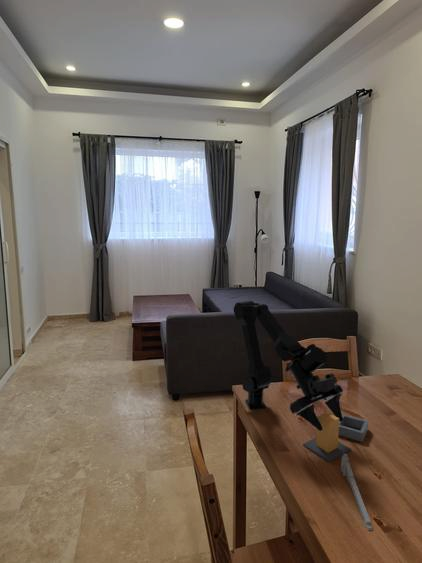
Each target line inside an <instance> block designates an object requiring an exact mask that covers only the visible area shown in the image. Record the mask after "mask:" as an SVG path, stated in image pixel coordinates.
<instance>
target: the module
mask: <svg viewBox="0 0 422 563" xmlns="http://www.w3.org/2000/svg"><path fill="white" fill-rule="evenodd" d="M316 416H317V415H316ZM317 418H318V420H319V422H320V424H321V426H322V429H323V430H321V431H319V430H318V429H317V428H316V437H315V438H316V446H318V447H320V448H321V449H323V450H324V451H326V452H330V451H332V450H334V449H336V448H338V442H339V435H338V434H339V418H337V417H336V416H335V415H334V414H333V413H330V412H324V413H322V414H320V415H318V416H317Z"/></svg>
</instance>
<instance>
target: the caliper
mask: <svg viewBox="0 0 422 563" xmlns="http://www.w3.org/2000/svg"><path fill="white" fill-rule="evenodd" d="M340 462H341V465H340V470H341V472H342V477H346V479H347V481H348V484H350V487H351V491H352V493H353V494H354V499H355V501H356V503H357V507H358V509H359V512H360V514H361V515H360V516H361V517H362V520H363V522H364V525H365V526H366V529H367V530H368V531H373V526H372V524H371V519H370V516H369V514H368V511H367V508H366V506H365V504H364V501H363V498H362V495H361V493H360V490H359V487H358V485H357V482H356V479H355V474H354V472H353V470H352V467H351V465H350V462H349V457H348V453H346V454H344V455H342V456H341V460H340Z"/></svg>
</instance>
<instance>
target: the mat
mask: <svg viewBox="0 0 422 563" xmlns="http://www.w3.org/2000/svg"><path fill="white" fill-rule="evenodd" d="M302 446H303V447H305V448H306V449H308V450H309V451H311V452H313V453H314V454H315V455H317V456H319V457H320V458H321V459H323V460H325V461H326V462H328V463H332V462H333V461H335V460H336V459H339V458H340V457H342V455H344V454H348V453H350V452H351V451H352V448H350V447H349V446H347V445H345V444H343V443H342V442H340V441H338V448H336V449H334V450H332V451H330V452H326V451H324V450H323V449H321V448H320V447H318V446H316V437H315V438H313V439H310V440H308V441H306V442H304V443H302Z"/></svg>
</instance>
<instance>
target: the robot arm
mask: <svg viewBox="0 0 422 563" xmlns="http://www.w3.org/2000/svg"><path fill="white" fill-rule="evenodd" d="M233 314H234V316H235V320H236V321H237V322H238V324H239V325H240V326H241V328H242V333H243V338H244V343H245V349H246V354H247V360H248V364H249V365H248V367H247V372H246V376H247V379H245V381H244V382H242V383H241V384H242V385H241V386H242V390H244V391H245V392H246V393H247V399H245V401H246V402H245V403H246V405H247V407H248V409H262V408H264V409H265V408H267V405H266V404H265V402H264V390H266V389H269V387H270V384H271V383H272V377H273V376H272V372H271V368H270V367H271V366H269V365H266V364H265V363H264V361H263V357H262V351H261V348H260V342H259V338H258V334H257V333H258V332H257V326H256V321H257V320H258V321H259V323H260V324H261V325H262V326H263V328H264V330H265V331H266V332H267V334H268V335H269V337H270V339H271V340H272V341H273V344H274V345H273V346H274V350H275V352H276V354H277V355H278V358H279V359H280V360H281V361H282V362H287V363H286V367H285V371H284V372H286V373H287V372H291V374H292V376H293V378H294V380H295V381H296V383H297V385H296V386H295V387H296V388H297V390H301V392H302V394H303V396H302V397H300V398H297V399H295V400H294V401H293V402H291V403H290V405H289V409H290V412H291V414H292V415H294V414H296V416H300V417H301V418H302V419H304V420H306V421H307V422H308V423H310V425H311V426H313V427H314V428H316V430H317V429H318V430H319V431H321V430H323V429H322V426H321V424H320V422H319V420H318V418H317V414H316V412H315V405H314V403H317V402H320V401H322V400H324V404H325V405H326V406H327V407H328V409H329V410H330V411H331V414H332V415H334V416H335V417H337V418H339V421H342V420H343V418H342V414H343V413H342V410H341V409H342V408H341V405H340V399H341V397H342V395H343V394H342V393H343V392H344V390H343V388H342V387H341V385H339V384H338V379H337V377H336V376H335V374H334V373H327V374H325V377H324V378H320V377H319V376H318V375H314V372H315V371H316V370H318V369H319V368H320V367H321V366H323V365H325V364H326V363H327V361H328V356H327V353H326V351H324V349H322V348H320V347H319V346H316V344H315V343H311V344H309V345H307V347H305V346H303V345H302V344H300V342H299V341H298V340H297V339H296V338H295V337H293V336H292V335H290V334H288V333H287V332H286V331H285V330H284V328H283V327H282V326H281V324H280V323H279V322H278V321H277V319H276V317H274V315H273V314H272V313H271V311H270V310H269V306H268V305H267V304H265V303H259V302H254V301H253V300H246V301H245V300H244V301H238V302H236V303H235V304H234V307H233ZM289 361H290V362H289Z"/></svg>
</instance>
